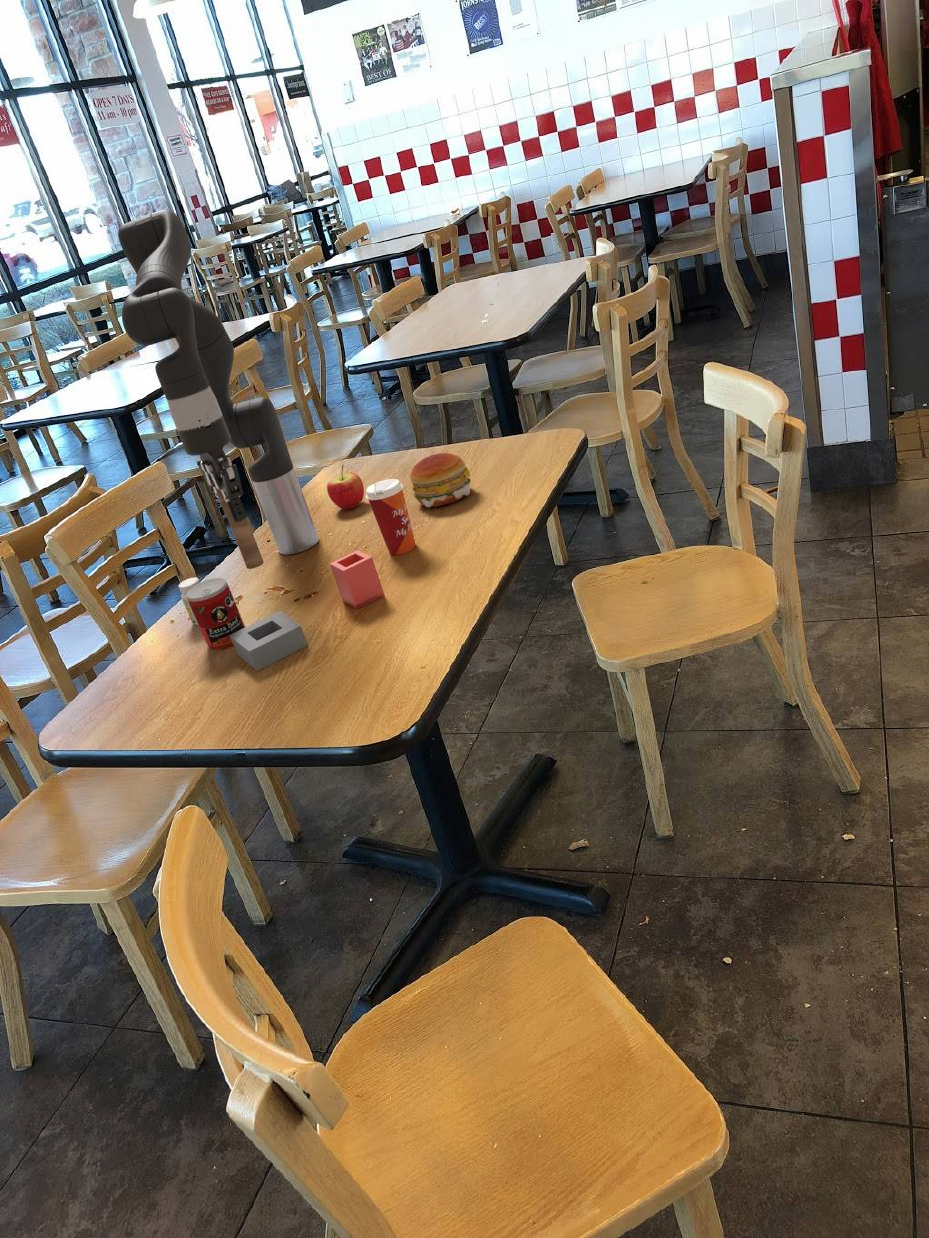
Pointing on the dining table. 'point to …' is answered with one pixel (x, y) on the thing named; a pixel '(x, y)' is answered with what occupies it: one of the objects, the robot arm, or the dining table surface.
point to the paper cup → (392, 515)
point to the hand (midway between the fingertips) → (236, 517)
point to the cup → (357, 579)
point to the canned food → (215, 612)
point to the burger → (440, 479)
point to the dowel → (243, 537)
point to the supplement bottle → (184, 588)
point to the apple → (346, 490)
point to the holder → (268, 640)
